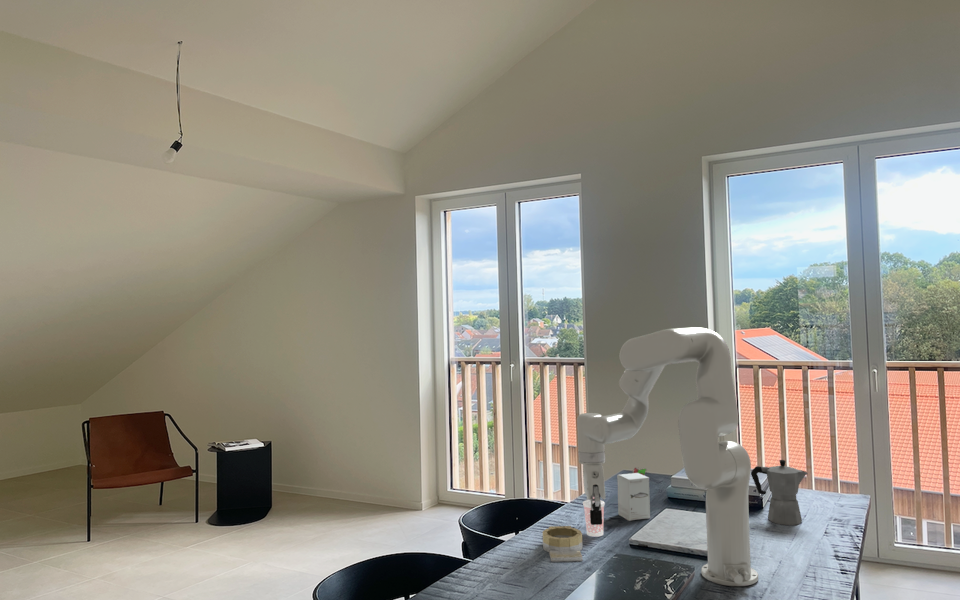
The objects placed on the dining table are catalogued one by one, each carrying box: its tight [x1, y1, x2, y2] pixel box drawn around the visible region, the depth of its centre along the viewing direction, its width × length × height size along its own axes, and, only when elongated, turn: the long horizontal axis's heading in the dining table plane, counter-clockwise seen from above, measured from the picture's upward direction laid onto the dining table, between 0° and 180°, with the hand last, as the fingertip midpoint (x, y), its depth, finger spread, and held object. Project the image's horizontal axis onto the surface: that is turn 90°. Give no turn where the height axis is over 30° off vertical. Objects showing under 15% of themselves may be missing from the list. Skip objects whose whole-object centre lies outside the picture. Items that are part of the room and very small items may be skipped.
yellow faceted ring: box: [542, 525, 583, 547], centre depth 181 cm, size 15×10×4 cm
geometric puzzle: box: [631, 467, 651, 480], centre depth 240 cm, size 7×7×8 cm
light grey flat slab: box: [542, 535, 584, 563], centre depth 176 cm, size 15×10×2 cm
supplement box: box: [616, 472, 651, 522], centre depth 204 cm, size 7×7×13 cm
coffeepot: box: [750, 459, 808, 526], centre depth 197 cm, size 15×9×18 cm, turn 67°
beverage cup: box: [582, 497, 606, 538], centre depth 188 cm, size 6×6×14 cm
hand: (594, 520), depth 188 cm, fingers closed on beverage cup, 6 cm apart
